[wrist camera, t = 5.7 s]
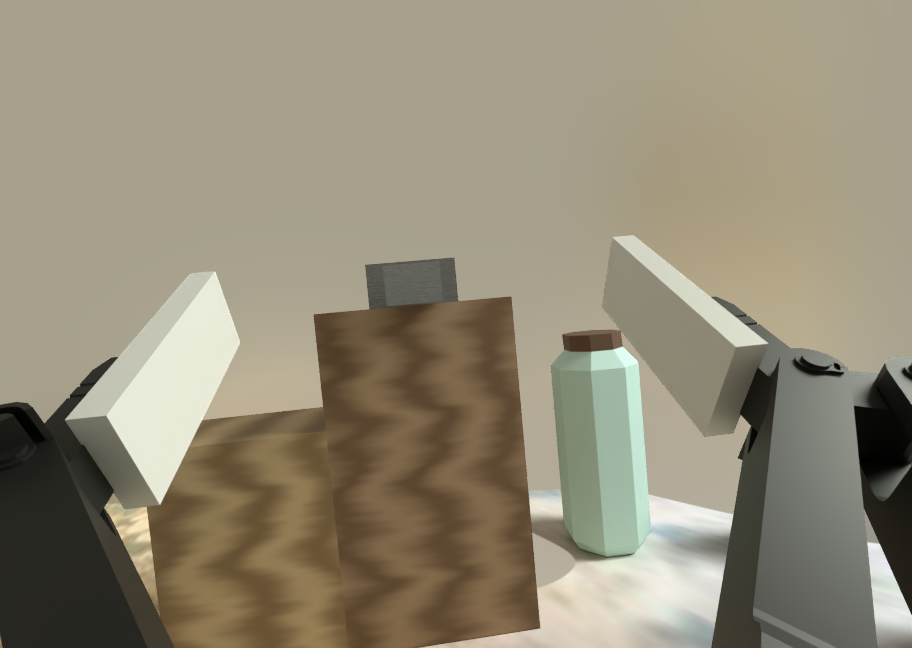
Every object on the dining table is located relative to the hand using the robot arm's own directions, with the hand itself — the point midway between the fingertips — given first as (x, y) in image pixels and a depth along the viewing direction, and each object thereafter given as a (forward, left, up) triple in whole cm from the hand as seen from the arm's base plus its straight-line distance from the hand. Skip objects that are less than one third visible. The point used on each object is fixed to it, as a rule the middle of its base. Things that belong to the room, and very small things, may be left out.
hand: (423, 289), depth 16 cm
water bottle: (+20, +37, -31) cm, 52 cm away
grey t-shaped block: (0, +23, 0) cm, 23 cm away
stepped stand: (-8, +29, -30) cm, 43 cm away
